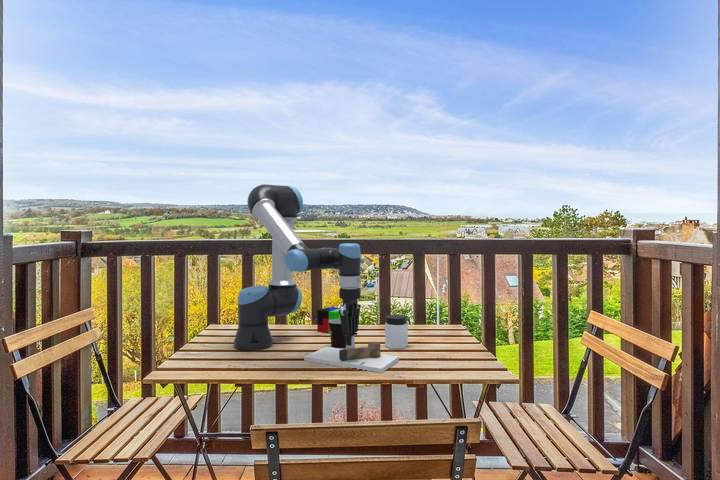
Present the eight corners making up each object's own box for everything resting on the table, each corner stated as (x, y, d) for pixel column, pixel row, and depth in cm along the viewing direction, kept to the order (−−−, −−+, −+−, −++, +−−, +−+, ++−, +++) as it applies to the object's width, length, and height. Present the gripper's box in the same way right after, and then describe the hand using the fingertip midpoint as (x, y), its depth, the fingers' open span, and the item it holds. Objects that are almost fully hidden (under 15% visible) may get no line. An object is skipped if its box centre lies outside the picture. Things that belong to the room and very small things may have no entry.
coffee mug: (347, 349, 176) (347, 323, 176) (326, 348, 178) (326, 323, 177) (353, 342, 187) (353, 318, 187) (333, 341, 189) (333, 317, 189)
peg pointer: (342, 361, 154) (342, 348, 154) (338, 358, 158) (338, 345, 158) (382, 356, 160) (382, 344, 160) (376, 353, 164) (376, 341, 164)
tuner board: (304, 361, 161) (304, 356, 161) (326, 350, 174) (326, 346, 174) (381, 373, 148) (381, 368, 148) (398, 360, 161) (398, 356, 161)
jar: (406, 343, 184) (406, 314, 184) (408, 349, 176) (408, 318, 176) (384, 343, 184) (384, 314, 184) (385, 349, 176) (385, 318, 176)
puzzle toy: (331, 327, 214) (331, 306, 214) (348, 330, 208) (348, 309, 208) (317, 331, 206) (317, 309, 206) (334, 334, 200) (334, 312, 200)
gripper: (351, 290, 152) (351, 360, 153) (367, 285, 163) (367, 350, 164) (331, 289, 155) (332, 357, 156) (348, 284, 167) (349, 347, 168)
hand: (350, 353), depth 160 cm, fingers closed
